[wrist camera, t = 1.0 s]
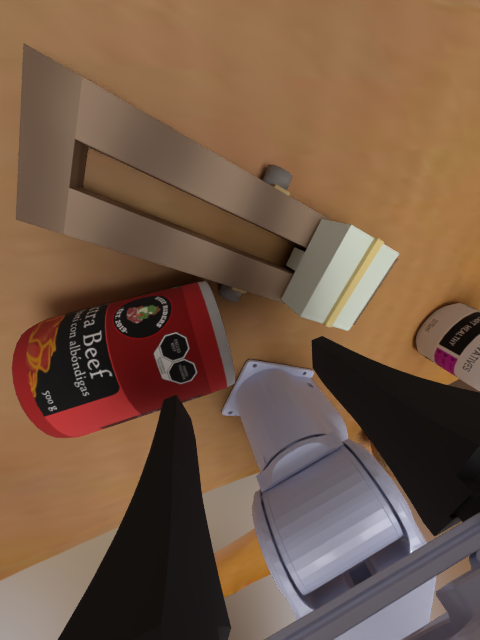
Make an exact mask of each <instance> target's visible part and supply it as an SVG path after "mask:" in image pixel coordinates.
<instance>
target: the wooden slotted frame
mask: <svg viewBox="0 0 480 640" xmlns="http://www.w3.org/2000/svg"><path fill="white" fill-rule="evenodd" d="M88 147H90V148H92V149H94V150H96V151H98V152H100V153H103V154H105V155H107V156H109V157H111V158H113V159H115V160H118V161H120V162H122V163H124V164H126V165H128V166H130V167H133V168H135V169H137V170H139V171H141V172H143V173H145V174H148V175H150V176H152V177H154V178H156V179H158V180H160V181H162V182H165V183H167V184H169V185H171V186H173V187H175V188H177V189H180V190H182V191H184V192H186V193H188V194H190V195H192V196H195V197H197V198H199V199H201V200H203V201H205V202H207V203H210V204H212V205H214V206H216V207H218V208H220V209H222V210H224V211H227V212H229V213H231V214H233V215H235V216H237V217H239V218H242V219H244V220H246V221H248V222H250V223H252V224H254V225H257V226H259V227H261V228H263V229H265V230H267V231H269V232H272V233H274V234H276V235H278V236H280V237H282V238H284V239H286V240H289V241H291V242H293V243H295V244H297V245H299V246H301V247H304V248H306V249H307V247H308V245H309V243H310V241H311V239H312V237H313V235H314V233H315V231H316V229H317V227H318V225H319V223H320V221H321V219H323V220H329V221H332V220H330V219H328V218H327V217H325V216H323V215H321V214H320V213H318V212H316V211H314V210H313V209H311V208H309V207H307V206H306V205H304V204H302V203H301V202H299V201H297V200H295V199H294V198H292V197H290V196H289V195H290V192H288V191H286V190H287V188H288V186H289V183H290V181H291V179H292V175H291V174H290V173H289V172H287V171H286V170H284V169H282V168H280V167H277V166H274V165H268V168H267V170H266V173H265V175H264V178H263V181H262V180H261V179H259V178H257V177H255V176H254V175H252V174H250V173H248V172H247V171H245V170H243V169H241V168H240V167H238V166H236V165H235V164H233V163H231V162H229V161H228V160H226V159H224V158H222V157H221V156H219V155H217V154H215V153H214V152H212V151H210V150H208V149H207V148H205V147H203V146H202V145H200V144H198V143H196V142H195V141H193V140H191V139H189V138H188V137H186V136H184V135H182V134H181V133H179V132H177V131H175V130H174V129H172V128H170V127H169V126H167V125H165V124H163V123H162V122H160V121H158V120H156V119H155V118H153V117H151V116H149V115H148V114H146V113H144V112H143V111H141V110H139V109H137V108H136V107H134V106H132V105H130V104H129V103H127V102H125V101H123V100H122V99H120V98H118V97H116V96H115V95H113V94H111V93H110V92H108V91H106V90H104V89H103V88H101V87H99V86H97V85H96V84H94V83H92V82H90V81H89V80H87V79H85V78H83V77H82V76H80V75H78V74H77V73H75V72H73V71H71V70H70V69H68V68H66V67H64V66H63V65H61V64H59V63H57V62H56V61H54V60H52V59H50V58H49V57H47V56H45V55H44V54H42V53H40V52H38V51H37V50H35V49H33V48H31V47H30V46H28V45H26V44H24V46H23V69H22V92H21V114H20V137H19V160H18V182H17V205H16V220H19V221H22V222H26V223H29V224H32V225H35V226H38V227H42V228H45V229H48V230H51V231H54V232H58V233H61V234H64V235H67V236H70V237H74V238H77V239H80V240H83V241H86V242H90V243H93V244H96V245H99V246H102V247H106V248H109V249H112V250H115V251H118V252H122V253H125V254H128V255H131V256H134V257H138V258H141V259H144V260H147V261H150V262H154V263H157V264H160V265H163V266H166V267H170V268H173V269H176V270H179V271H182V272H186V273H189V274H192V275H195V276H198V277H202V278H205V279H208V280H211V281H214V282H217V283H221V284H222V285H221V287H220V290H219V292H218V294H219V295H220V296H221V297H223V298H225V299H227V300H229V301H233V302H238V301H239V299H240V296H241V294H242V293H245V294H246V293H247V292H249V293H253V294H256V295H259V296H262V297H265V298H269V299H272V300H275V301H278V302H281V303H284V302H283V301H282V300H281V299H282V297H283V295H284V293H285V291H286V289H287V287H288V285H289V283H290V281H291V279H292V277H293V275H294V273H295V272H293V271H290V270H288V269H285V268H283V267H280V266H278V265H275V264H273V263H270V262H268V261H265V260H263V259H260V258H258V257H255V256H253V255H250V254H248V253H245V252H243V251H240V250H238V249H235V248H233V247H230V246H228V245H225V244H222V243H220V242H217V241H215V240H212V239H210V238H207V237H205V236H202V235H200V234H197V233H195V232H192V231H190V230H187V229H185V228H182V227H180V226H177V225H175V224H172V223H170V222H167V221H165V220H162V219H160V218H157V217H155V216H152V215H149V214H147V213H144V212H142V211H139V210H137V209H134V208H132V207H129V206H127V205H124V204H122V203H119V202H117V201H114V200H112V199H109V198H107V197H104V196H102V195H99V194H97V193H94V192H92V191H89V190H87V189H84V188H83V181H84V173H85V166H86V159H87V152H88ZM397 260H398V258H396V259H395V261H394V262H393V264H392V265H391V267H390V268H389V270H388V271H387V273H386V274H385V276H384V278H383V279H382V281H381V282H380V284H379V285H378V287H377V288H376V290H375V291H374V293H373V294H372V296H371V297H370V299H369V300H368V302H367V303H366V305H365V306H364V308H363V309H362V311H361V313H360V314H359V316H358V317H357V319H356V320H355V322H354V323H353V325H355V323H356V322H357V320H358V319H359V317H360V316H361V314H362V313H363V311H364V310H365V308H366V307H367V305H368V304H369V302H370V301H371V299H372V298H373V296H374V295H375V293H376V292H377V290H378V289H379V287H380V286H381V284H382V283H383V281H384V280H385V278H386V277H387V275H388V273H389V272H390V270H391V269H392V267H393V266H394V264H395V263H396V261H397Z"/></svg>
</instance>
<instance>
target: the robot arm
mask: <svg viewBox="0 0 480 640" xmlns="http://www.w3.org/2000/svg"><path fill="white" fill-rule="evenodd" d="M312 361H313V369H314V370H315V372H316V373H317V375H318V376H319V378H320V379H321V381H322V382H323V383H324V385H325V386H326V387H327V388H328V389H329V391H330V392H331V393H332V394H333V395H334V396H335V398H336V399H337V400H338V401H339V402H340V403H341V404H342V406H343V407H344V408H345V409H346V410H347V411H348V412H349V414H350V415H351V416H352V417H353V418H354V419H355V421H356V422H357V423H358V424H359V426H360V427H361V428H362V430H363V431H364V432H365V434H366V435H367V437H368V438H369V439H370V441H371V442H372V443H373V445H374V446H375V448H376V449H377V451H378V452H379V454H380V455H381V456H382V458H383V459H384V461H385V462H386V464H387V465H388V467H389V468H390V470H391V471H392V473H393V474H394V476H395V477H396V479H397V480H398V482H399V484H400V485H401V487H402V488H403V490H404V491H405V493H406V494H407V496H408V498H409V499H410V501H411V503H412V504H413V506H414V508H415V509H416V511H417V512H418V514H419V516H420V517H421V519H422V521H423V523H424V524H425V525H426V526H427V528H428V529H429V530H430V531H431V533H432V534H433V535H434V536H436V535H438V534H440V533H441V532H443V531H445V530H447V529H448V528H450V527H452V526H453V525H455V524H457V523H459V522H460V521H462V523H461V524H459V525H457V526H456V527H454V528H452V529H450V530H449V531H447V532H445V533H444V534H442V535H440V536H439V537H437V538H435V539H434V540H432V541H430V542H428V543H427V542H426V540H425V538H424V537H423V535H422V534H421V532H420V530H419V528H418V527H417V525H416V523H415V521H414V519H413V516H412V512H411V510H410V508H409V506H408V504H407V502H406V501H405V499H404V497H403V496H402V494H401V492H400V491H399V489H398V488H397V487H396V485H395V483H394V482H393V481H392V479H391V478H390V476H389V475H388V474H387V472H386V471H385V470H384V468H383V467H382V466H381V465H380V463H379V462H378V461H377V460H376V459H375V457H374V456H373V455H372V454H371V453H370V452H369V451H368V450H367V449H366V448H365V447H364V446H363V445H361V444H360V443H357V442H354V441H352V440H350V439H348V433H347V429H346V425H345V423H344V420H343V418H342V417H341V415H340V414H339V412H338V411H337V410H336V409H335V407H334V406H333V405H332V404H331V402H330V401H329V400H328V399H327V398H326V396H325V395H324V394H323V393H322V391H321V390H320V389H319V388H318V386H317V385H316V384H315V383H314V381H313V380H312V379H311V378H312V376H313V375H314V371H313V370H312V369H306V368H300V367H294V366H288V365H282V364H276V363H270V362H264V361H258V360H252V359H250V360H248V361H246V363H245V365H244V367H243V369H242V371H241V373H240V375H239V377H238V379H237V381H236V383H235V385H234V387H233V389H232V391H231V393H230V395H229V397H228V399H227V401H226V403H225V405H224V407H223V409H222V414H223V415H226V416H240V418H241V421H242V423H243V426H244V429H245V432H246V435H247V437H248V440H249V443H250V446H251V448H252V451H253V454H254V457H255V460H256V462H257V465H258V468H259V471H260V474H259V475H257V480H258V483H259V486H260V490H259V491H257V492H255V494H254V501H253V505H252V516H253V522H254V526H255V530H256V534H257V538H258V541H259V544H260V547H261V550H262V553H263V556H264V559H265V561H266V564H267V566H268V569H269V571H270V573H271V575H272V578H273V580H274V582H275V583H276V585H277V587H278V588H279V590H280V591H281V592H282V594H283V595H284V596H285V598H286V599H287V601H288V603H289V605H290V606H291V609H292V611H293V613H294V615H295V617H296V619H297V621H295V622H293V623H291V624H290V625H288V626H287V627H285V628H283V629H281V630H280V631H278V632H276V633H275V634H273V635H271V636H269V637H268V638H266V639H264V640H480V393H479V392H474V391H470V390H465V389H460V388H457V387H453V386H449V385H445V384H441V383H437V382H434V381H430V380H427V379H423V378H420V377H417V376H414V375H411V374H408V373H405V372H402V371H399V370H396V369H394V368H391V367H388V366H386V365H383V364H381V363H378V362H376V361H374V360H371V359H369V358H367V357H364V356H362V355H360V354H358V353H356V352H354V351H351V350H349V349H347V348H345V347H343V346H341V345H339V344H337V343H335V342H333V341H331V340H329V339H327V338H325V337H323V336H321V337H319V338H316V339H314V340H312ZM254 364H255V365H254ZM469 555H470V556H469ZM467 556H469V561H470V564H471V570H470V571H468V572H466V573H464V574H463V575H461V576H459V577H457V578H456V579H454V580H452V581H451V582H449V583H448V584H447V585H445V586H444V587H442V588H441V589H439V590H438V591H436V596H437V597H438V599H439V600H440V601H441V603H442V605H443V606H444V608H445V609H446V611H447V612H446V613H445V614H443V615H441V616H439V617H438V618H436V619H435V620H433V621H431V622H430V613H431V607H432V601H433V596H434V590H435V583H436V576H437V575H439V574H440V573H442V572H443V571H445V570H447V569H448V568H450V567H451V566H453V565H454V564H456V563H458V562H459V561H461V560H463V559H464V558H466V557H467ZM230 629H231V626H230V621H229V618H228V613H227V609H226V605H225V601H224V597H223V593H222V588H221V584H220V580H219V575H218V571H217V566H216V562H215V558H214V553H213V549H212V544H211V539H210V534H209V530H208V525H207V520H206V515H205V509H204V504H203V499H202V492H201V483H200V474H199V465H198V456H197V447H196V439H195V434H194V430H193V425H192V421H191V418H190V416H189V415H188V413H187V411H186V409H185V408H184V406H183V404H182V403H181V401H180V399H179V398H178V396H177V395H174V396H172V397H169V398H167V399H164V401H163V403H162V408H161V412H160V416H159V420H158V424H157V428H156V432H155V435H154V438H153V442H152V445H151V449H150V452H149V455H148V458H147V460H146V463H145V466H144V469H143V472H142V475H141V477H140V480H139V483H138V485H137V488H136V490H135V493H134V495H133V497H132V500H131V502H130V504H129V507H128V509H127V511H126V513H125V516H124V518H123V520H122V522H121V524H120V526H119V529H118V531H117V533H116V535H115V537H114V539H113V541H112V543H111V545H110V547H109V549H108V551H107V553H106V555H105V556H104V558H103V560H102V562H101V564H100V566H99V568H98V570H97V572H96V574H95V576H94V577H93V579H92V581H91V583H90V585H89V586H88V588H87V590H86V592H85V594H84V595H83V597H82V599H81V600H80V602H79V604H78V606H77V607H76V609H75V611H74V613H73V614H72V616H71V618H70V620H69V621H68V623H67V625H66V627H65V628H64V630H63V632H62V633H61V635H60V637H59V638H58V640H228V637H229V633H230Z"/></svg>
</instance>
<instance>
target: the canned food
mask: <svg viewBox="0 0 480 640" xmlns="http://www.w3.org/2000/svg"><path fill="white" fill-rule="evenodd" d="M12 374H13V383H14V387H15V391H16V395H17V397H18V400H19V402H20V405H21V407H22V409H23V410H24V412H25V413H26V415H27V416H28V418H29V419H30V420H31V421H32V422H33V423H34V424H35V426H36V427H37V428H38V429H40V430H41V431H43V432H44V433H46V434H47V435H50V436H53V437H56V438H72V437H80V436H84V435H87V434H90V433H93V432H96V431H99V430H102V429H105V428H108V427H111V426H114V425H117V424H120V423H123V422H126V421H129V420H132V419H135V418H138V417H141V416H144V415H147V414H150V413H153V412H156V411H159V410H161V408H162V403H163V401H164V399H167V398H169V397H172V396H174V395H177V396H178V398H179V399H180V401H181V403H183V402H186V401H189V400H192V399H195V398H198V397H201V396H204V395H207V394H210V393H213V392H215V391H218V390H221V389H224V388H227V387H229V386H230V385H233V384H235V371H234V365H233V360H232V356H231V352H230V347H229V343H228V340H227V336H226V332H225V329H224V325H223V322H222V319H221V316H220V312H219V309H218V306H217V303H216V301H215V298H214V295H213V293H212V290H211V288H210V286H209V285H208V283H207V282H206V281H203V282H195V283H191V284H187V285H182V286H178V287H174V288H169V289H165V290H161V291H157V292H153V293H149V294H145V295H141V296H137V297H133V298H129V299H125V300H121V301H117V302H113V303H109V304H105V305H101V306H97V307H93V308H89V309H85V310H81V311H77V312H73V313H69V314H65V315H60V316H56V317H52V318H48V319H46V320H44V321H42V322H40V323H38V324H36V325H34V326H33V327H31V328H29V329H28V330H27V331H25V332H24V333H23V334H22V335H21V337H20V339H19V341H18V342H17V344H16V348H15V351H14V354H13V363H12Z"/></svg>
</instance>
